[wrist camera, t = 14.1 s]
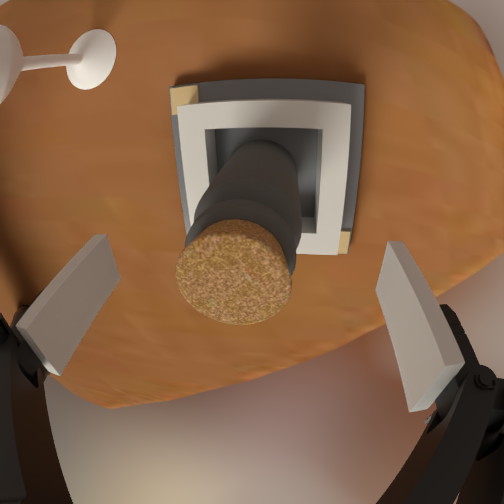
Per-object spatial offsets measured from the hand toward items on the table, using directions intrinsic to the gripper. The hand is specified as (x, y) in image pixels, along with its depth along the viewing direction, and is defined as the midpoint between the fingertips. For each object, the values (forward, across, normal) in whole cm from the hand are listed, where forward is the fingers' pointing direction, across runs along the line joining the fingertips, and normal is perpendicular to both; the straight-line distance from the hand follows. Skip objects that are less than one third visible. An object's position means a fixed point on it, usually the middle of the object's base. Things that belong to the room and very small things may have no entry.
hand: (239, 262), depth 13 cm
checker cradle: (+14, 0, 0) cm, 14 cm away
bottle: (+14, 0, 0) cm, 14 cm away
